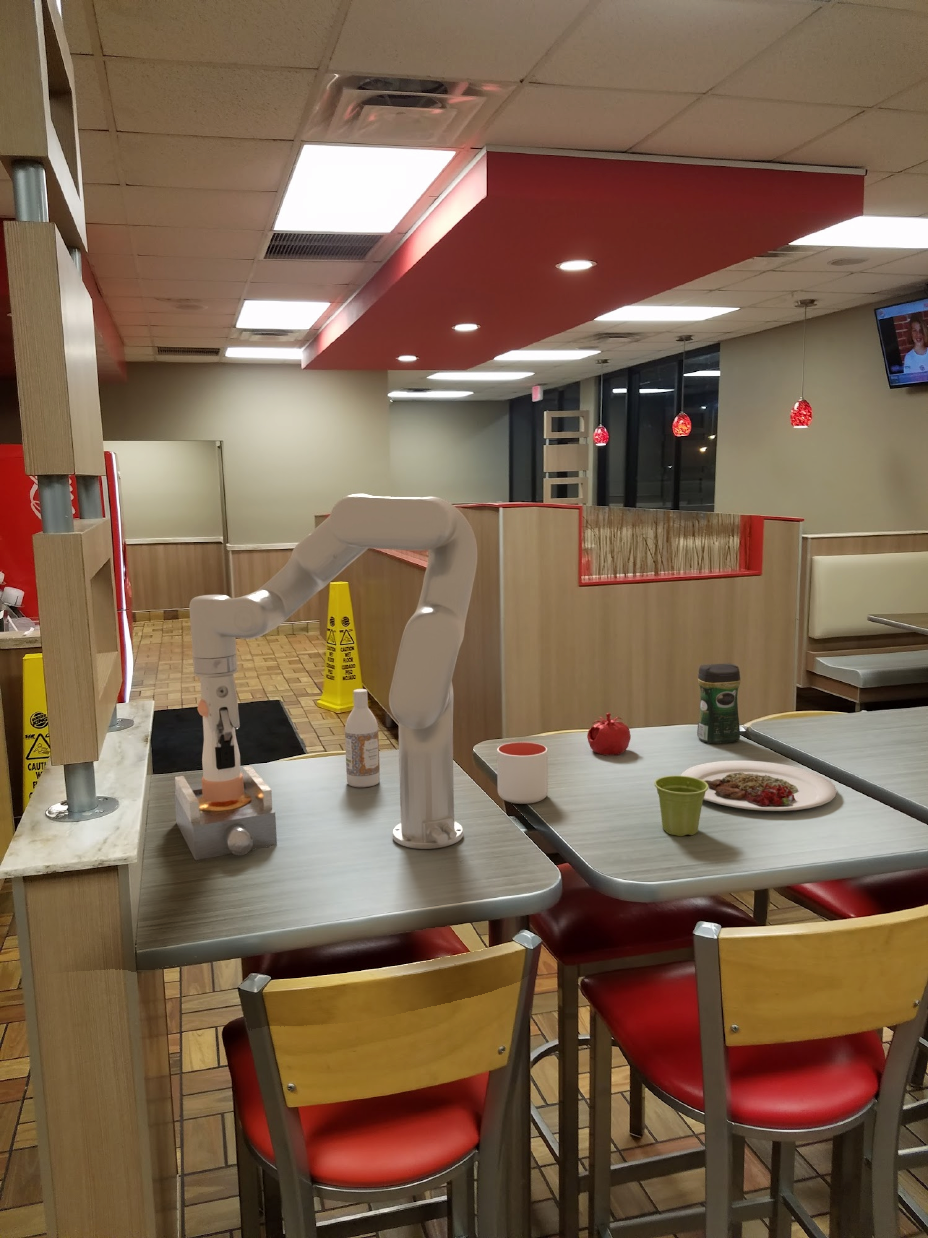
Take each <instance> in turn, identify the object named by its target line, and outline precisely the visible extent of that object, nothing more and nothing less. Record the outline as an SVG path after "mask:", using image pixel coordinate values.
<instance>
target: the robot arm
mask: <svg viewBox="0 0 928 1238" xmlns="http://www.w3.org/2000/svg"><path fill="white" fill-rule="evenodd" d="M368 549H374V550H377V549H378V550H399V551H400V550H402V551H420V552H422V551H427V553H428V559H427V563H426V569H425V571H424V572H425V573H424V576H423V581H422V582H423V583H422V588H421V592H420V596H419V599H418V600H419V601H418V603H417V606H416V609H415V612H414V613H413V614H412V615H411V617H410V618H409V619H408V621H407V623H406V624H405V627H404V630H403V633H402V636H401V640H400V644H399V648H398V652H397V653H398V654H397V657H396V662H395V666H394V671H393V675H392V680H391V685H390V689H389V695H388V704H389V708H390V712H391V714H392V715H393V717H394V719H395V720H396V721H397V722H398V768H399V769H398V771H399V772H398V773H399V800H400V801H399V802H400V823H399V824H397V825H395V827H394V828H393V829H392V839H393V840H394V842H395V843H397V844H398V845H400V846H403V847H406V848H411V849H417V850H418V849H419V850H428V849H429V850H431V849H433V850H434V849H440V848H445V847H449V846H451V845H454V844H456V843H458V842H460V841H461V840H462V838H463V837H464V828H463V826H462V825H461V824H460V823H459V822H457V821H455V789H454V787H455V786H454V785H455V783H454V743H453V742H454V734H453V733H454V732H453V731H454V730H453V729H454V727H453V726H454V724H453V722H454V721H453V720H454V686H453V682H452V680H453V676H454V672H455V667H456V663H457V660H458V659H457V658H458V656H459V651H460V648H461V646H462V643H463V641H464V637H465V630H466V629H465V628H466V621H467V616H468V610H469V607H470V601H471V597H472V591H473V586H474V581H475V577H476V572H477V567H478V566H477V565H478V545H477V540H476V536H475V533H474V530H473V528H472V525H471V524H470V523H469V521H468V519H467V518H466V517H465V515H464V514H463V513H462V512H461V511H460V510H459V508H457V507H456V506H455V505H454V504H452V503H450V502H449V501H447V500H446V499H444V498H441V497H438V496H424V497H399V496H397V497H394V496H392V497H391V496H374V495H371V494H366V493H354V494H353V493H352V494H350V495H346V496H344V497H342V498H341V499H339V500H338V501H337V502H336V503H335V504H334V506H333V507H332V508H331V511H330V514H329V515H328V517H327V518H326V519H325V520H323V522H321V523H320V524H319V525H317V527H315V528H314V529H313V530H311V532H309V534H307V535H306V536H305V537H304V538H303V539H301V540H300V541H299V542H298V543H297V544H296V545H295V547H294V548H293V550H292V552H291V555H290V558H289V559H288V561H287V562H286V563H285V565H284V566H283V567H282V568H281V569H280V570H279V571H278V572H276V573H275V574H274V575H273V576H272V577H271V578H270V579H269V580H268V581H267V582H265V583H264V584H263V585H262V586H260V588H258V589H257V590H255V591H253V592H251V593H249V594H246V595H242V596H240V597H233V598H232V597H230V596H228V595H226V594H204V595H199V596H198V595H197V596H195V597H193V598H192V599H191V600H190V602H189V606H188V607H189V622H190V624H189V625H190V636H191V650H192V651H191V652H192V664H193V665H192V667H193V676H195V677H198V678H199V680H200V681H199V682H200V683H199V684H200V700H202V699H203V700H204V701H205V703H206V706H207V710H208V717H207V719H208V724H209V727H210V729H211V730H212V731H214V732H215V737H216V744H217V747H215V754H216V768H217V769H218V770H220V769H227V768H233V767H235V753H234V743H233V736H232V729H231V725H232V726H233V727H234V728H235V730H238V729H239V728H240V726H241V725H240V724H241V723H240V715H239V704H238V696H237V689H236V688H237V687H236V681H235V674H236V673H238V655H237V654H238V653H237V642H236V641H237V639H244V640H254V639H258V638H261V637H262V636H264V635H266V634H267V633H269V632H271V631H273V630H275V629H277V628H278V627H279V626H280V625H282V624H284V622H285V621H287V619H289V618H290V617H291V616H292V615H294V613H296V612H297V611H298V610H299V609H300V608H301V607H303V606H304V605H305V604H306V603H307V602H309V600H310V599H312V598H313V596H315V595H316V594H317V593H318V592H319V591H321V590H323V589H324V588H325V587H326V586H328V584H329V583H330V582H331V581H333V580H334V579H335V578H336V577H337V576H339V575H340V573H342V572H343V571H344V570H345V569H346V568H347V567H348V566H350V565H351V564H352V563H353V562H354V561H355V560H357V558H359V557H360V556H362V555H363V554H364V553H365V552H366V551H367V550H368ZM230 721H231V722H230ZM231 723H232V724H231ZM221 726H222V728H223V729H218V728H217V727H221ZM220 733H223V734H222V735H221V736H220V735H219V734H220Z"/></svg>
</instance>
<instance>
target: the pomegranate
mask: <svg viewBox="0 0 928 1238" xmlns="http://www.w3.org/2000/svg"><path fill="white" fill-rule="evenodd" d="M605 716H606V719H604V717H602V716H598V719H601V720H595V721H593V722H592V724H594V725H592V726H591V727H590V728H589V729H588V731H587V736H586V737H587V742H588V744H589V746H590V749H591V750H592V751H593V752H594V753H596V754H600V755H604V756H617V755H621V754H623V753H624V752H625V751H626V750H627V749H628V747H629V745H630V743H631V738H632V737H631V730H630V728H629V726H628V725H627V724H626V723H625V722H623V721H617V720H618V719H619V720H622V718H621V717H619V716H617V717H615V718H613V719H612V714H611V712H607V713H605Z"/></svg>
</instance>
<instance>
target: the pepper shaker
mask: <svg viewBox="0 0 928 1238" xmlns="http://www.w3.org/2000/svg"><path fill="white" fill-rule="evenodd" d="M196 708H197V712H198V713H199V715H200V716H202V726H203V727H202V729H203V731H202V732H203V746H202V757H201V758H202V759H201V761H202V762H201V763H202V765H201V766H202V773H203V776H202V777H201V785H202V794H203V799H204V800H207V801H212V802H223V801H230V800H234V799H237V798H239V797H241V796H243V795H244V784H243V772H241V754H240V749H239V745H238V740H237V736H236V729H235V728H234V727H233V726H232V725H231V729H232V736H233V743H234V753H235V767H233V768H227V769H220V770H218V769H217V768H216V754H215V747H217V744H216V737H215V732H214V731H212V730H211V729H210V727H209V724H208V719H207V717H208V710H207V706H206V703H205V701H204V700H203V699H202V700H201V699H200V700H199V702H198V704H197V707H196ZM230 722H231V721H230ZM231 724H232V723H231ZM217 728H218V729H223V728H222V726H221V727H217ZM222 734H223V733H220V734H219V735H220V736H221V735H222Z"/></svg>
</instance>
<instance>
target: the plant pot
mask: <svg viewBox="0 0 928 1238" xmlns="http://www.w3.org/2000/svg"><path fill="white" fill-rule="evenodd" d="M653 782H654V787H655V788H656V792H657V794H658V799H659V807H660V816H661V825H662V826H661V827H662V830H664V831H665V832H666V833H667V834H669V835H673V836H677V837H683V836H686V835H689V836H692V835H696V834H697V833H698V830H699V824H700V818H701V813H702V812H701V811H702V807H703V801H704V799H703V798H704V796H705V792H706V791H707V790H708V784H707V783H706V782H705V781H703V780H700V779H697V778H694V777H688V776H680V775H668V776H667V775H666V776H662V777H659V778H656V780H654V781H653Z"/></svg>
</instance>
